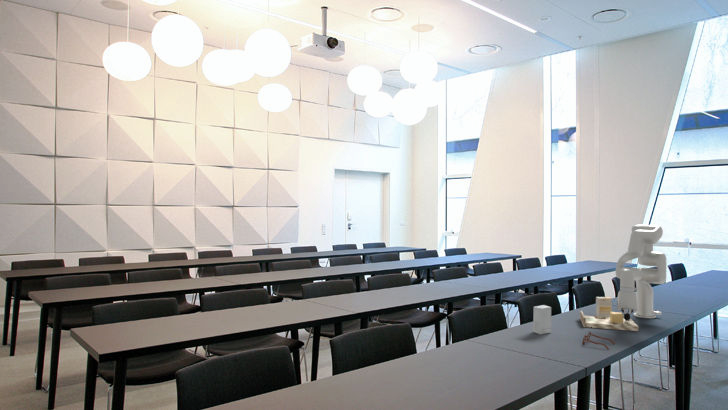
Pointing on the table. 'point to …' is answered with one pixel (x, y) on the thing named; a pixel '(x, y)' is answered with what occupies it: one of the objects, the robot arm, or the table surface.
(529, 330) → the table surface
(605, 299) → the supplement box
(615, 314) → the ochre block
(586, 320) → the cream sorting tray
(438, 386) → the table surface
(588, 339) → the glasses
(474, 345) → the table surface
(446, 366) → the table surface
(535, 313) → the skincare box
